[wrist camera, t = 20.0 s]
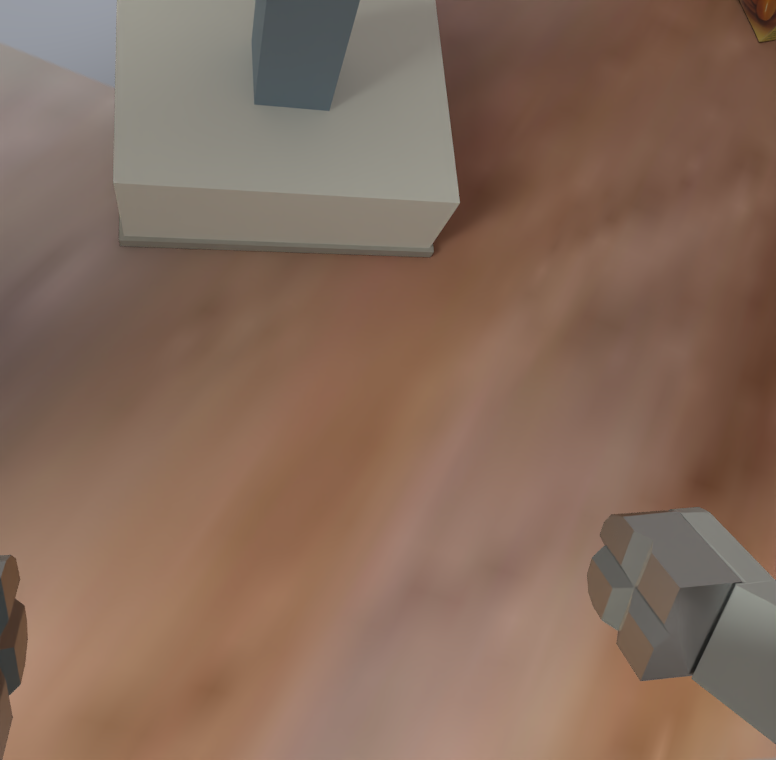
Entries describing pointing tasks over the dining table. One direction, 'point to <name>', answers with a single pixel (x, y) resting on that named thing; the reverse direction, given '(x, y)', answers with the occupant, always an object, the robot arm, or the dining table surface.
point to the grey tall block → (299, 51)
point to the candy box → (761, 18)
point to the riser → (280, 136)
